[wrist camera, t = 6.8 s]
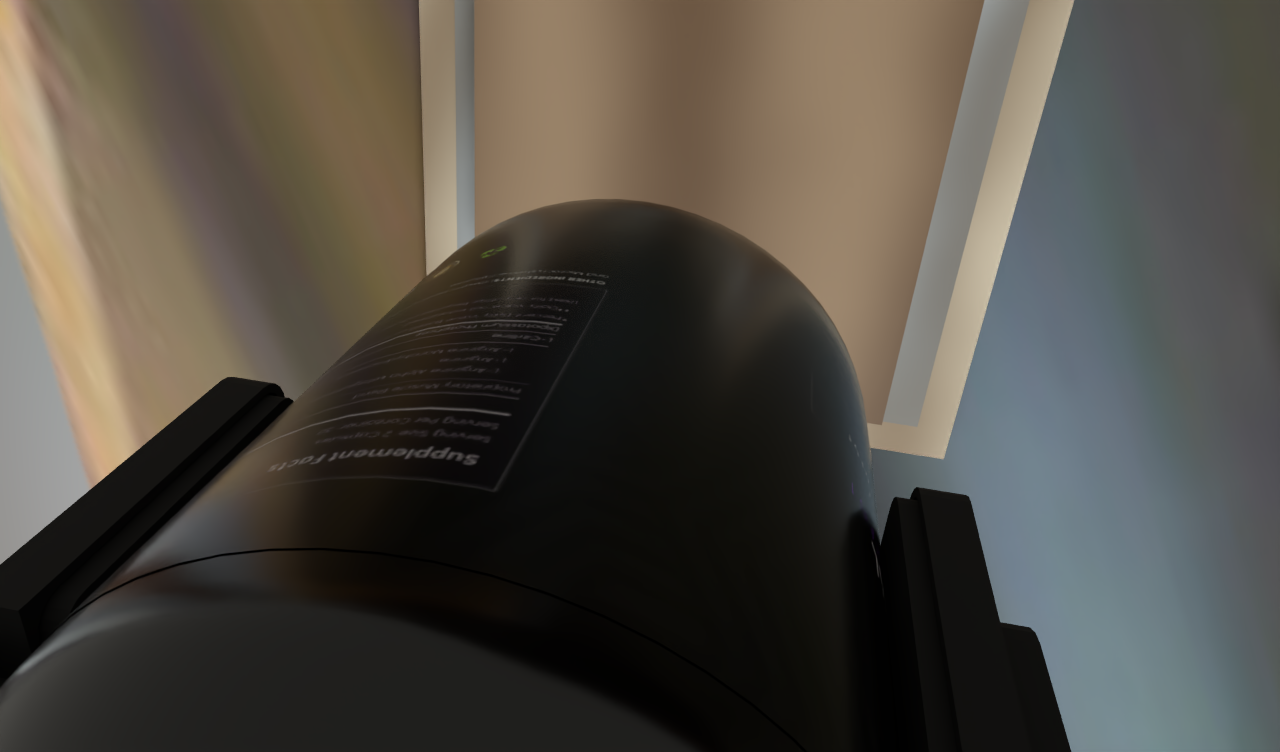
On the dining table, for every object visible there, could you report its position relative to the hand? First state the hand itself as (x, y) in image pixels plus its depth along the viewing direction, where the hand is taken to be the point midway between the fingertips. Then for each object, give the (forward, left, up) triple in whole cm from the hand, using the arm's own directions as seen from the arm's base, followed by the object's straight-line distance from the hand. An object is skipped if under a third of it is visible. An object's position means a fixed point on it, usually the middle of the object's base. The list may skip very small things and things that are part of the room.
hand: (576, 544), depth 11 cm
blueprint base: (0, 0, -18) cm, 18 cm away
